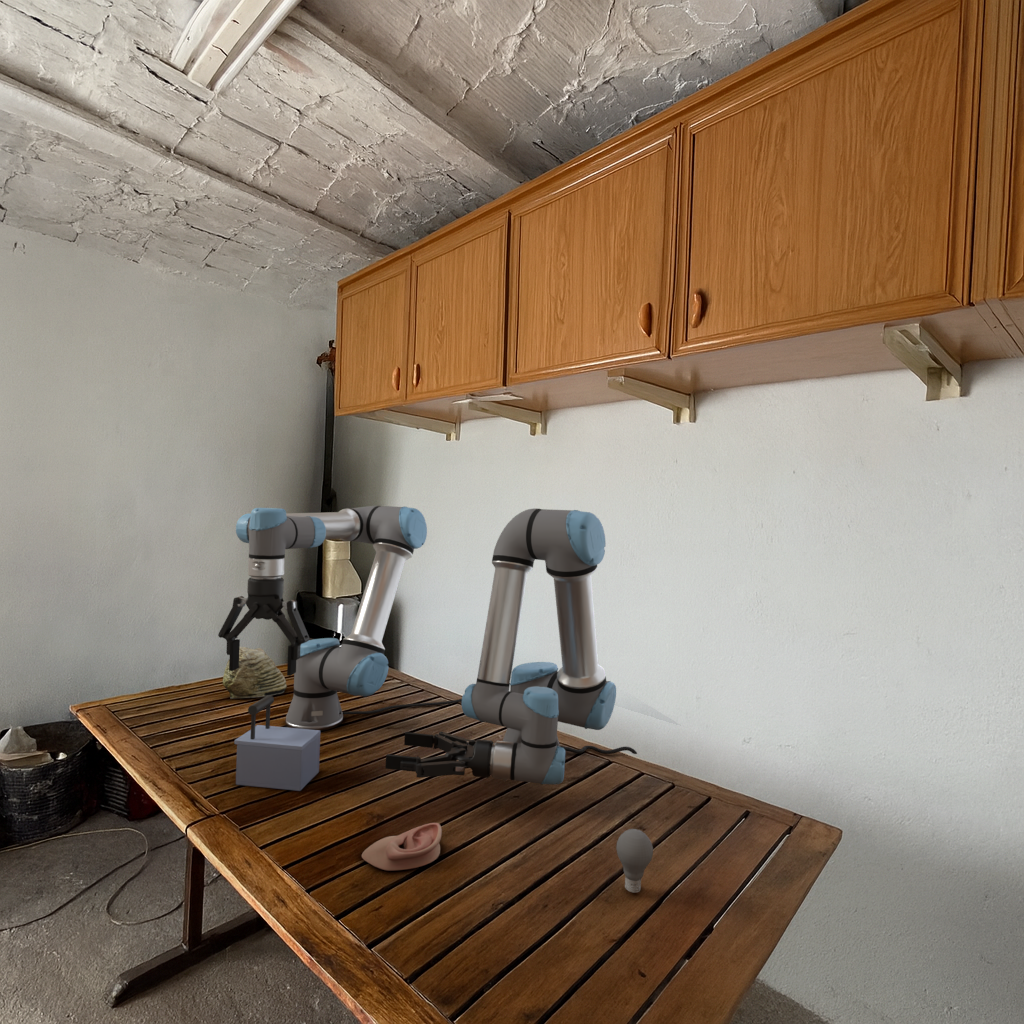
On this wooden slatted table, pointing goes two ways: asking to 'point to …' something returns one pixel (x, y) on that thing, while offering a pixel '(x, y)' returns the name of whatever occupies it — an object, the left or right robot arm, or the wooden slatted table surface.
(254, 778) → the chest
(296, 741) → the lid
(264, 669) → the fossil
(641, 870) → the light bulb
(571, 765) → the wooden slatted table surface
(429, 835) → the anatomical model
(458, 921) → the wooden slatted table surface
